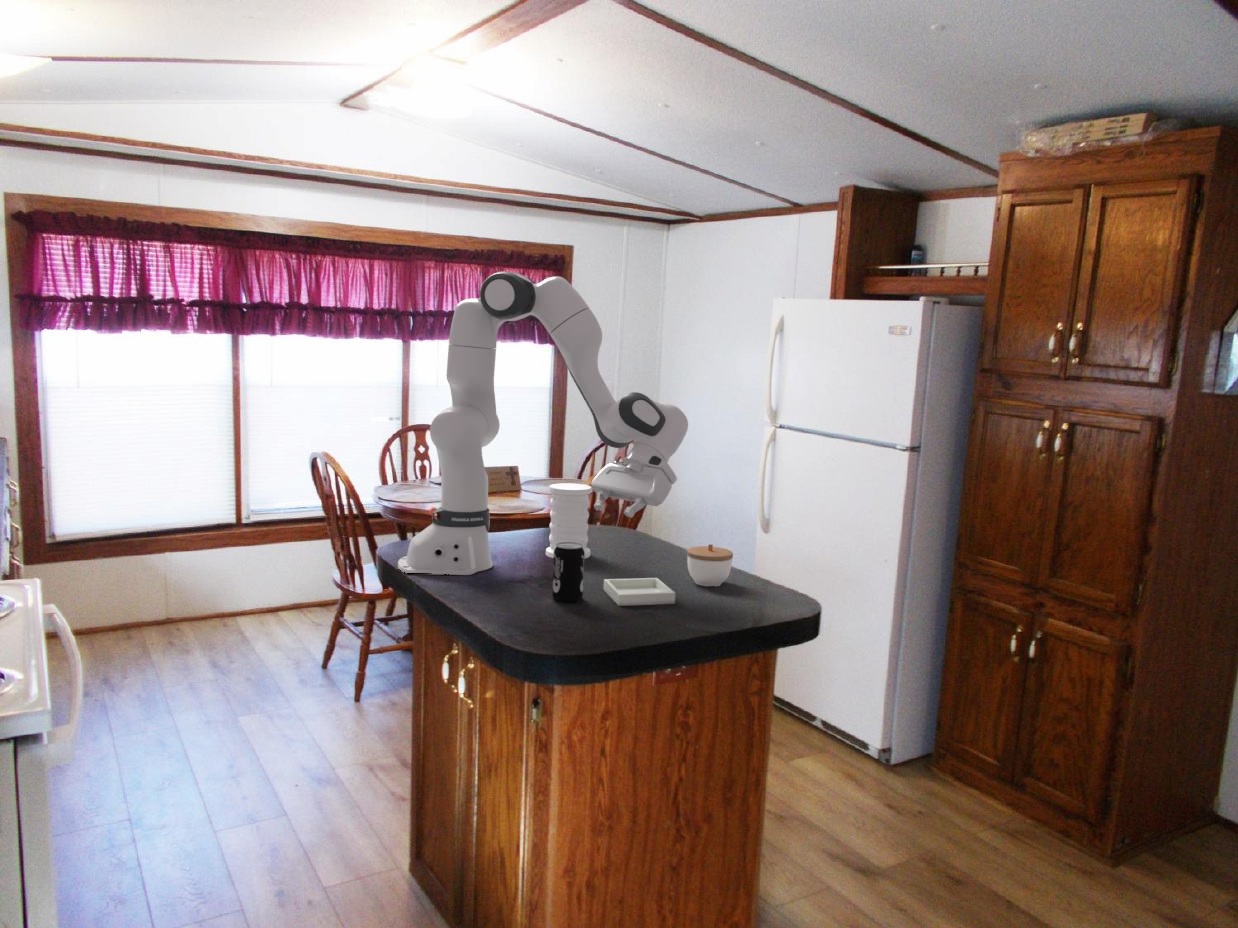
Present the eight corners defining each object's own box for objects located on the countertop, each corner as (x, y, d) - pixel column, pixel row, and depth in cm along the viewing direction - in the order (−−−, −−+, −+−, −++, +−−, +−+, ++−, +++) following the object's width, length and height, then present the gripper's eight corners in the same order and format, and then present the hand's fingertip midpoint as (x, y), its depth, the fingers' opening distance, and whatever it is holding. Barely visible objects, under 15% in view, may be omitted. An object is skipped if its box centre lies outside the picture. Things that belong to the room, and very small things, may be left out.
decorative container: (542, 549, 241) (544, 482, 239) (585, 549, 244) (588, 483, 242) (549, 560, 230) (551, 490, 228) (594, 559, 233) (597, 490, 231)
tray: (618, 605, 193) (619, 594, 193) (603, 589, 205) (603, 579, 205) (674, 603, 197) (675, 592, 196) (656, 587, 209) (657, 577, 208)
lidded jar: (682, 577, 220) (684, 538, 219) (725, 577, 221) (728, 539, 220) (689, 589, 209) (692, 549, 208) (735, 589, 210) (738, 550, 209)
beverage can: (578, 604, 193) (580, 549, 191) (548, 601, 194) (550, 546, 192) (585, 596, 199) (588, 542, 198) (556, 593, 200) (558, 540, 199)
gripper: (604, 451, 214) (573, 496, 208) (670, 461, 200) (638, 510, 194) (617, 469, 218) (586, 513, 212) (682, 480, 204) (651, 528, 198)
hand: (612, 512), depth 203 cm, fingers open, 8 cm apart
